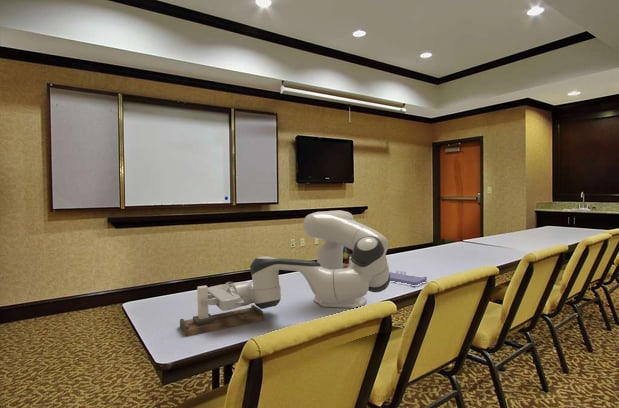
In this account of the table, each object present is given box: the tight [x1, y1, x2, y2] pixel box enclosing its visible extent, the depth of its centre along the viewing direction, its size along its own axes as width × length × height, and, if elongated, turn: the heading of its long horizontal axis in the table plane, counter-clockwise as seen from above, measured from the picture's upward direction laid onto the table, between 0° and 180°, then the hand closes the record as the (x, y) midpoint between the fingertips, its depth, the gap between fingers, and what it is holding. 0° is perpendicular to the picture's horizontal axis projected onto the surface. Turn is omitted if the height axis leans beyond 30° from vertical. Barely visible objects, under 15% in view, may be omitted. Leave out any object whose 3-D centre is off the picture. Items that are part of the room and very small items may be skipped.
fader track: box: [179, 304, 264, 337], centre depth 131 cm, size 28×10×3 cm, turn 121°
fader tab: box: [192, 285, 214, 325], centre depth 127 cm, size 6×6×12 cm
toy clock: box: [343, 246, 353, 268], centre depth 210 cm, size 20×6×20 cm, turn 70°
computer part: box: [389, 270, 428, 285], centre depth 189 cm, size 30×4×15 cm
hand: (200, 301), depth 126 cm, fingers closed on fader tab, 2 cm apart
